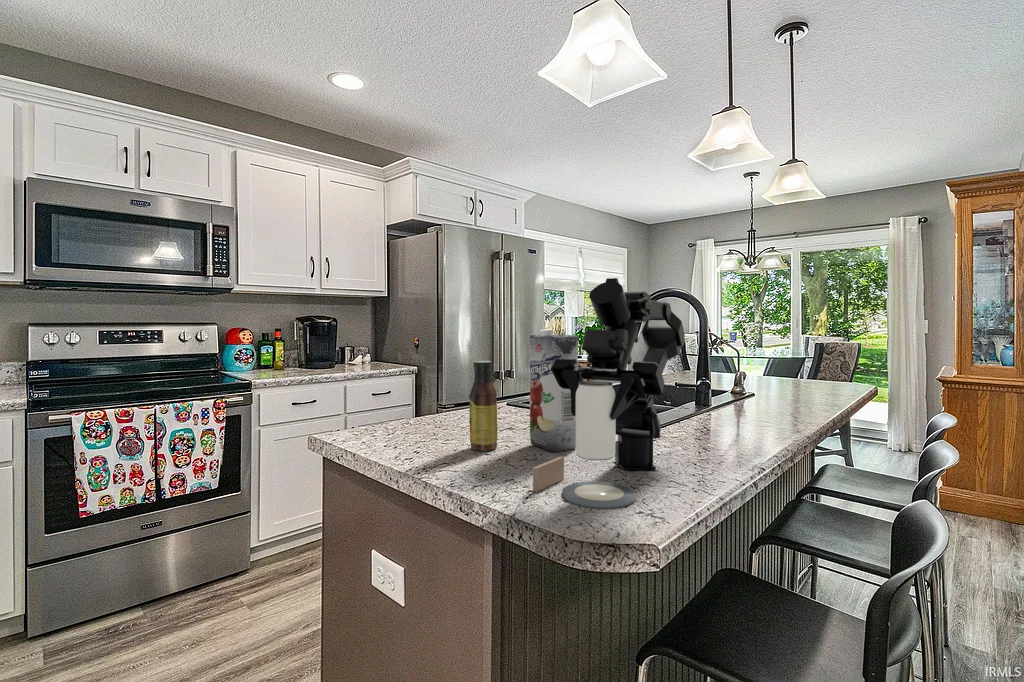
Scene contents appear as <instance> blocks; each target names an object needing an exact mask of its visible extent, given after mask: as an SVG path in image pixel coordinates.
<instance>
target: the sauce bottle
mask: <svg viewBox="0 0 1024 682" xmlns="http://www.w3.org/2000/svg"><path fill="white" fill-rule="evenodd" d="M473 371H474V378H473V380H474V381H473V384H472V386H471V390H470V393H469V395H468V396H469V397H468V400H469V401H468V402H469V405H468V406H469V407H468V408H469V409H468V411H469V442H470V448H471V449H472V450H475V451H481V452H490V451H494V450H496V449H497V447H498V440H499V439H498V436H499V435H498V401H497V389H496V388H495V386H494V384H493V383H492V361H491V360H475V361H473Z"/></svg>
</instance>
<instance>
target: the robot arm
mask: <svg viewBox="0 0 1024 682" xmlns="http://www.w3.org/2000/svg"><path fill="white" fill-rule="evenodd" d="M589 300H590V301H591V304H592V306H593V310H594V312H595V316H596V318H597V321H598V323H599V324H600V325H601V326H604V329H586V330H584V333H583V340H582V343H581V349H582V351H584V352H586V353H587V357H586V359H587V362H588V364H591V366H581V365H580V364H579V363H577V361H576V359H560V358H559V359H555V360H554V362H553V364H552V366H551V371H552V373H553V375H554V377H555V379H556V381H557V383H558V385H559V386H560V387H561V388H563V389H570V391H571V413H572V415H573V416H576V391H577V389H578V386H579V384H578V383H579V382H585V380H589V381H603V382H611V383H618V384H619V388H618V390H617V393H615V395H616V398H615V401H614V404H613V406H612V410H611V414H610V417H611V419H612V420H614V419H616V436H617V440H616V442H615V456H614V462H615V464H617V465H618V466H619V468H620V469H621V470H623V471H640V470H641V471H643V470H644V471H646V470H647V471H648V470H651V471H653V470H655V471H656V469H657V466H656V465H655V464H654V439H660V438H661V422H660V419H659V416H658V413H657V411H656V407H655V403H654V399H653V398H654V396H661V395H663V393H664V388H665V379H664V377H663V372H664V370H665V368H666V366H667V363H668V361H669V360H671V359H673V358H675V357H677V356H678V355H679V354H680V353H681V352H680V351H682V347H684V345H685V341H686V336H685V335H686V334H685V330H684V325H683V321H682V320H681V319H680V318H679V317H678V316H677V315H676V314H675V313H674V312H673V311H672V308H671V305H670V303H669V302H666V301H659V300H658V301H657V300H652V296H651V295H650V294H648V292H646V291H645V290H643V291H624V287H623V286H622V284H620V282H619V279H618V277H610V278H609V277H608V278H606V280H605V282H602V283H600V284H598V285H596V286H595V287H594V288H593V289H591V290H590V292H589ZM650 321H665V323H666V324H667V325H660V326H659V325H650V326H649V323H650ZM638 323H643V327H642V328H641V329H642V330H641V334H642V335H641V336H642V337H643V341H644V345H645V348H646V351H645V354H644V357H643V359H642V361H633V360H632V357H631V354H632V351H633V348H634V345H635V343H639V335H638V332H639V326H638ZM632 361H633V362H632ZM632 363H633V364H632ZM631 364H632V365H631ZM628 365H631V367H632V370H630V369H629V370H628V369H627V367H628Z"/></svg>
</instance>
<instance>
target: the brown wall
mask: <svg viewBox="0 0 1024 682" xmlns="http://www.w3.org/2000/svg"><path fill="white" fill-rule="evenodd" d="M563 480H565V457H564V456H558V457H556V458H553V459H552V460H551V459H550V460H549V461H546V462H544V463H541V464H539V465H536V466H534V467H532V492H535V493H538V492H541V491H542V490H545V489H547V488H549V487H551V486H552V485H555V484H556V483H560V482H561V481H563Z"/></svg>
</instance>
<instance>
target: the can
mask: <svg viewBox="0 0 1024 682" xmlns="http://www.w3.org/2000/svg"><path fill="white" fill-rule="evenodd" d="M578 384H579V386H578V389H577V391H576V448H575V454H576V455H577V457H578V458H581V459H583V460H587V461H607V460H611V459H613V458H615V442H616V441H617V440H616V436H617V435H616V419H614V420H612V419H611V417H610V414H611V410H612V406H613V404H614V401H615V398H616V390H615V389H614V387H613V386H614V382H603V381H596V380H588V381H584V382H579V383H578Z"/></svg>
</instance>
